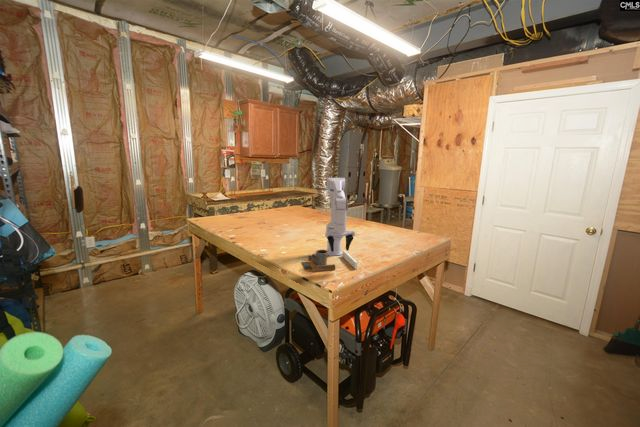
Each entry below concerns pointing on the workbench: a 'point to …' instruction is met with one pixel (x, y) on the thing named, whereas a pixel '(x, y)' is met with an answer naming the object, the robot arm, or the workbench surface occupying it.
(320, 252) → the pipe
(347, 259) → the cream plank
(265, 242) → the workbench surface
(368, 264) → the workbench surface
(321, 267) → the brown wooden board
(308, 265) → the strip
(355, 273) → the workbench surface
